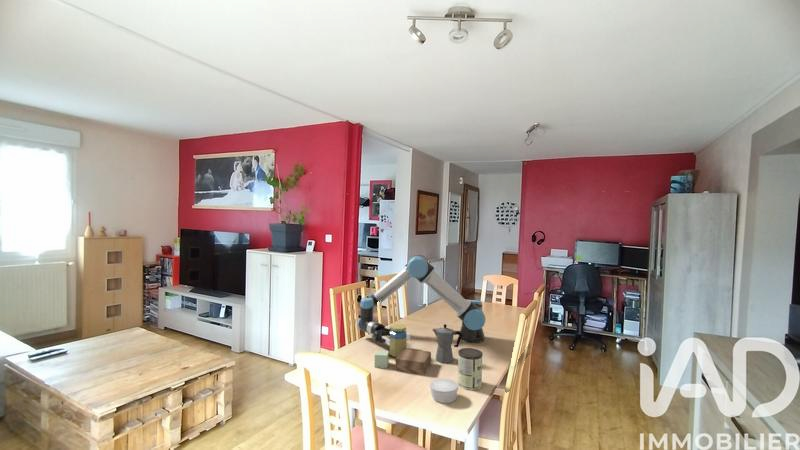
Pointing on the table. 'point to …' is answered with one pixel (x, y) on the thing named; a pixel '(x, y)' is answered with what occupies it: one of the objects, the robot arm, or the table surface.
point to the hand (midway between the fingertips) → (400, 339)
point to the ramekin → (444, 390)
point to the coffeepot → (445, 343)
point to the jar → (397, 339)
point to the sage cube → (381, 359)
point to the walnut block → (413, 361)
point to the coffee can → (470, 368)
